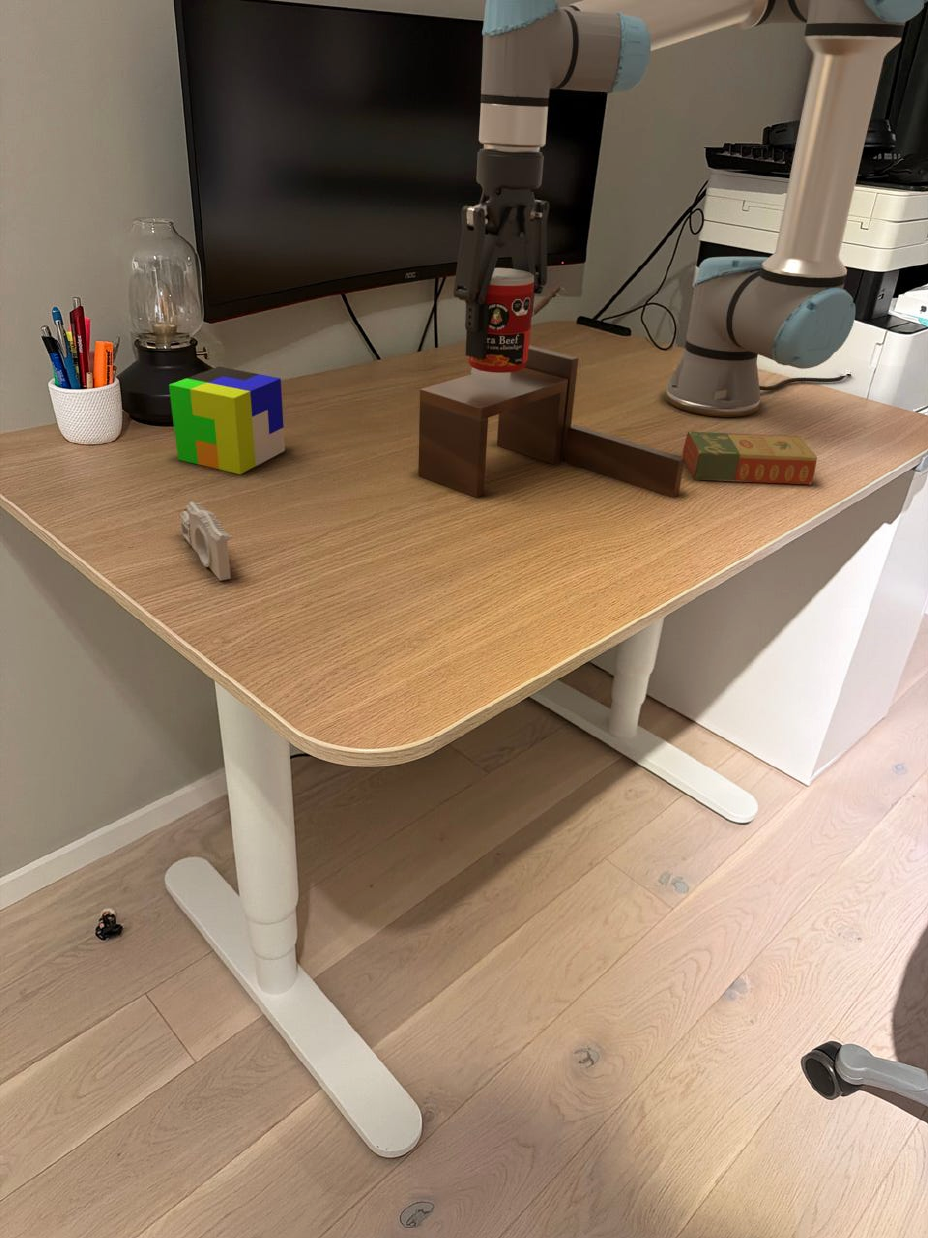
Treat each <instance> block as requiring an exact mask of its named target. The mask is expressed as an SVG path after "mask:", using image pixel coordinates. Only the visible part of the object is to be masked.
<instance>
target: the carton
mask: <svg viewBox="0 0 928 1238" xmlns="http://www.w3.org/2000/svg"><path fill="white" fill-rule="evenodd" d="M681 457H683V458H685V461H684V464H686V466H687V468H688V470H689V472H690V474H691V476H692V478H693V479H694V480H696V481H723V482H745V483H746V482H747V483H766V484H767V483H769V484H771V483H772V484H791V485H792V484H793V485H794V484H795V485H811V484H812V483H813V479H814V475H815V472H816V466H817V461H818V457H817V455H816V454H815V452H814V451H813V450H812V449H811V447H810V446H809V445H808V444H807V443H806V442H805V441H804V439H802V437H801V436H798V435H781V434H779V435H778V434H751V433H727V432H704V431H691V430H690V431H687V434H686V437H685V440H684V445H683V449H682V453H681Z"/></svg>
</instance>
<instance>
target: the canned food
mask: <svg viewBox="0 0 928 1238" xmlns="http://www.w3.org/2000/svg"><path fill="white" fill-rule="evenodd" d="M533 291H534V275H533V274H531V273H529V272H527V271H522V270H517V269H514V268H508V267H507V268H506V267H495V269H494V272H493V275H492V279H491V282H490V285H489V288H488V292H487V295H486V298H485V301H484V303H488V304H489V321H488V337H487V354H486V359H484V360H481V359H477V358H473V357H470V356H466V357H467V361H468V362H467V363H468V365H469V366H470V367H471V368H472V367H473V368H475V369H478V370H481V371H486V372H494V373H508V372H515V371H519V370H521V369H523V368H524V367H525V365H526V362H527V359H528V349H529V343H530V340H529V337H531V328H530V326H531V325H532V318H531V314H532V302H533ZM476 292H478V289H477V290H476Z"/></svg>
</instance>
